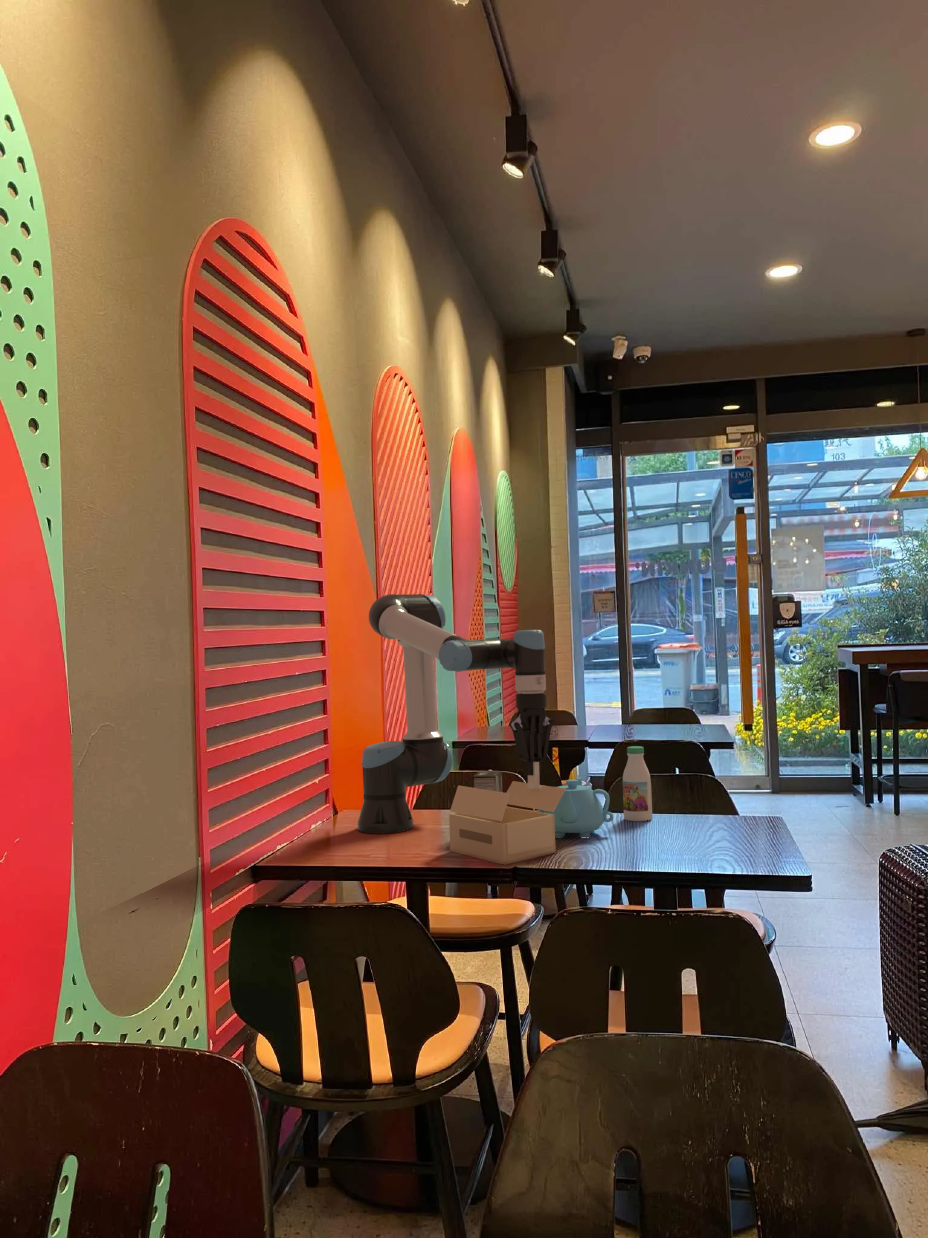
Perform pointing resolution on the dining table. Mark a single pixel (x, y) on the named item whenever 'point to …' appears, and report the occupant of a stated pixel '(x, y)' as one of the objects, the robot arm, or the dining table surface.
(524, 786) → the far flap
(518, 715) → the robot arm
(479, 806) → the near flap
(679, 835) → the dining table surface
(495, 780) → the coffee box
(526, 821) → the carton
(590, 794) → the teapot
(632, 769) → the milk bottle
